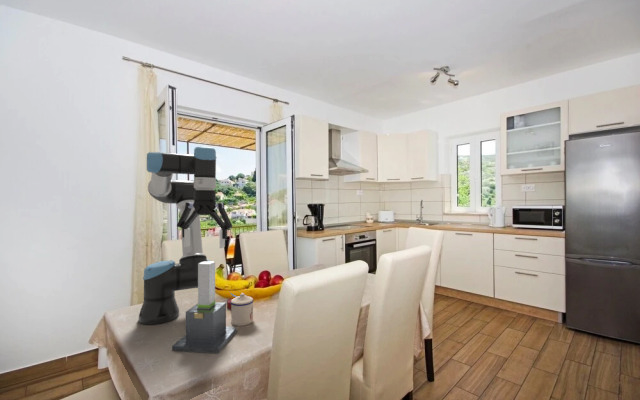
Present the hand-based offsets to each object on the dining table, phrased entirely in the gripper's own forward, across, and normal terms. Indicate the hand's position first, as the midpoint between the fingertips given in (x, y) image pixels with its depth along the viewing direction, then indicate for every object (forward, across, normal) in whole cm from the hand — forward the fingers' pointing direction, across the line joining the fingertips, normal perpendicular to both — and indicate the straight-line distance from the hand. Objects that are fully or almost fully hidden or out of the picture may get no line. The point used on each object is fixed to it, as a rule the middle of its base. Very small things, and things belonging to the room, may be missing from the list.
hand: (204, 247), depth 107 cm
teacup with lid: (+33, +9, +14) cm, 37 cm away
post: (+25, +3, -3) cm, 25 cm away
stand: (+33, +3, -4) cm, 33 cm away
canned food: (+34, +1, +30) cm, 46 cm away
